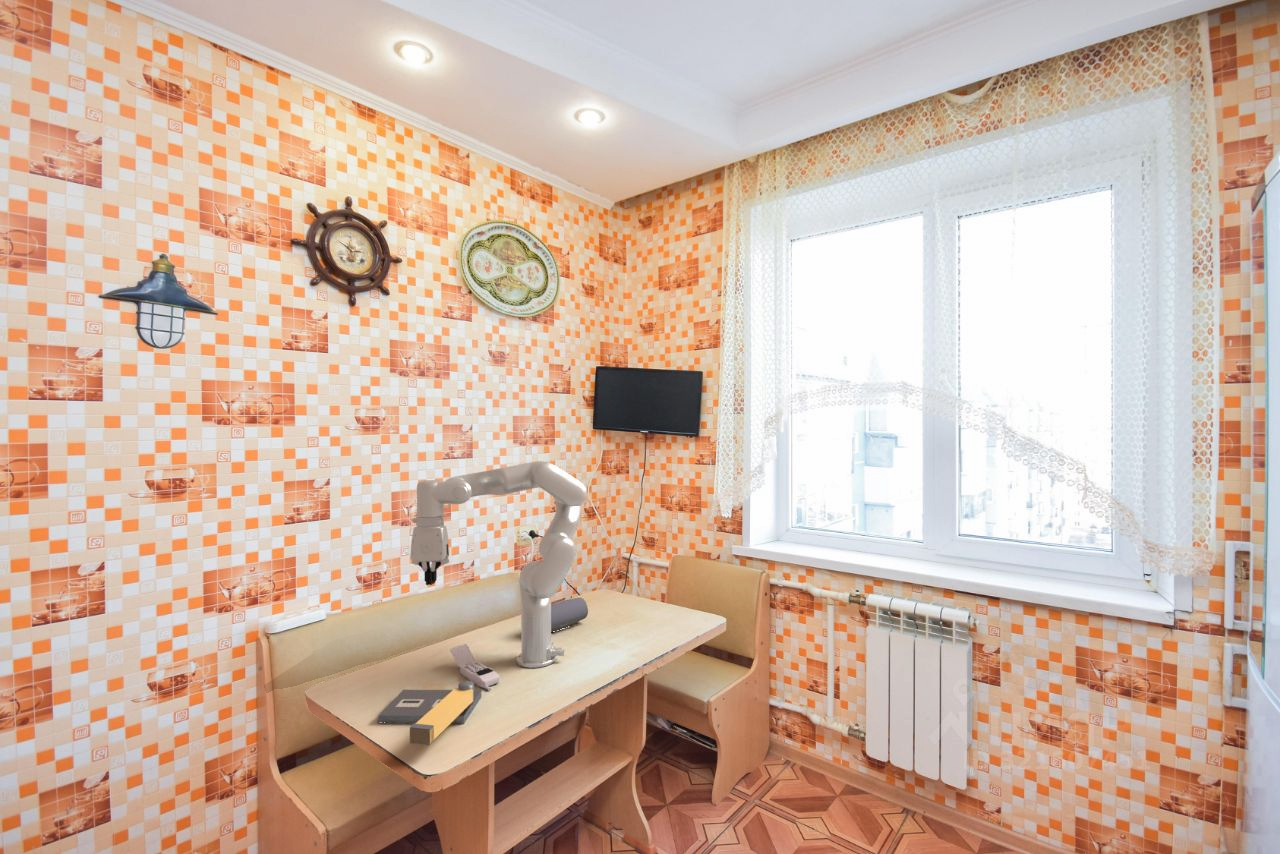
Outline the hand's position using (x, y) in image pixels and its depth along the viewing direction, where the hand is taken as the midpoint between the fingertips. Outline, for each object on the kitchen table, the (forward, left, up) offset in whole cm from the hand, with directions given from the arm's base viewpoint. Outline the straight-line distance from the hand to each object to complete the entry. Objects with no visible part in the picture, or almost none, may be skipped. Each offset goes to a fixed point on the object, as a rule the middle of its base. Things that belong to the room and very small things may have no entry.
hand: (430, 583), depth 162 cm
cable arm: (-15, +26, -27) cm, 41 cm away
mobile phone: (-12, -5, -30) cm, 32 cm away
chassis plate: (-7, +16, -29) cm, 34 cm away
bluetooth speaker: (-30, -44, -29) cm, 61 cm away
